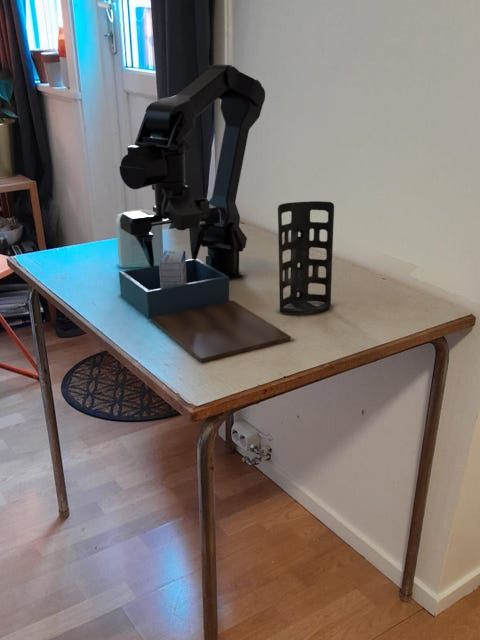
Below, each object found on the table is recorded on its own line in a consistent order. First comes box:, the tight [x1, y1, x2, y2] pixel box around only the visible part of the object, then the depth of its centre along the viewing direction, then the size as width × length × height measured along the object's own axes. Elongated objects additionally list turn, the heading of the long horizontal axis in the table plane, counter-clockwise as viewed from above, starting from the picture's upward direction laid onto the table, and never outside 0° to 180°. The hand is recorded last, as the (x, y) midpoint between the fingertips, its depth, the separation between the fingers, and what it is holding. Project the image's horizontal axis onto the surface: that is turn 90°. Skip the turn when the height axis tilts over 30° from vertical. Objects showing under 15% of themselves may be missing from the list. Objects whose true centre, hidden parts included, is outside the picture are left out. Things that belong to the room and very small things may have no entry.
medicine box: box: [159, 249, 187, 288], centre depth 130 cm, size 8×4×9 cm, turn 179°
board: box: [149, 300, 292, 364], centre depth 119 cm, size 18×20×1 cm
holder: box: [277, 200, 335, 315], centre depth 124 cm, size 11×8×20 cm
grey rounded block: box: [115, 209, 164, 268], centre depth 147 cm, size 10×4×12 cm, turn 103°
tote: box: [118, 257, 230, 320], centre depth 131 cm, size 18×14×5 cm
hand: (173, 262), depth 128 cm, fingers open, 9 cm apart
